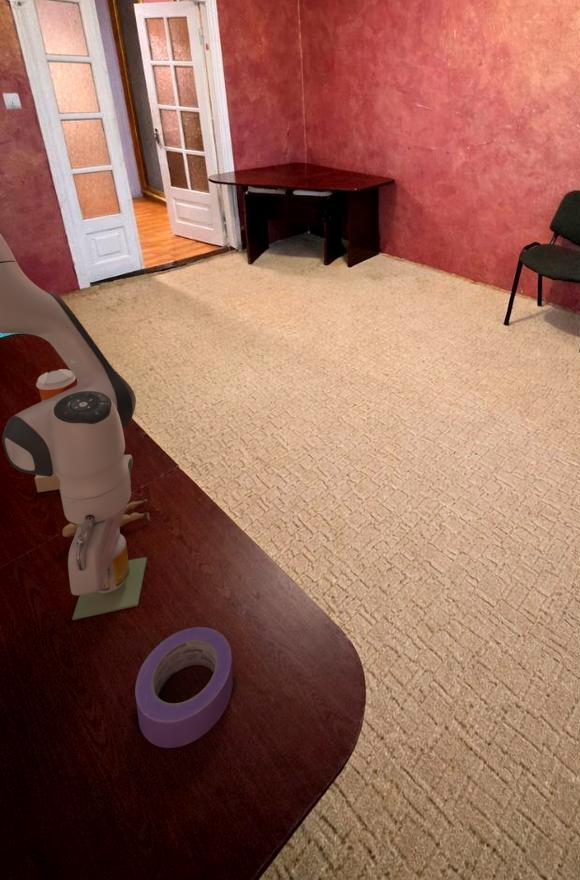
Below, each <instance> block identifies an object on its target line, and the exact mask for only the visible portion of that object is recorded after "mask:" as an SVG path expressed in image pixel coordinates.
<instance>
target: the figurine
mask: <svg viewBox="0 0 580 880" xmlns="http://www.w3.org/2000/svg"><path fill="white" fill-rule="evenodd" d="M147 503H148V499H146V498H144V499H142V500H138V501H131V502H128V503H127V505H126V508H125V511H124V515H123V518H122V521H121V525H120V528H122V527H124V526H126V525H127V524H129V523H130V522H134V521H137V520H139V519H142V520H146V519H147V521H148V522H150V521H151V517H150V513H149V511H148V512H143V513H139V512H132V513H130V514H127V512H128V511H129V510H134V509H135V508H136V507H137V506H140V505H142V506H144V505H147ZM78 526H79V524H75V523H72V522H69V523H68V524H67V525H65V526H64V527H63V528H62V532H61V533H62V537H64V538H71V537H74V536H75V534H76V531H77V529H78Z"/></svg>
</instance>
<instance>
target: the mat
mask: <svg viewBox="0 0 580 880" xmlns="http://www.w3.org/2000/svg"><path fill="white" fill-rule="evenodd" d="M147 560H148V557H147V556H144V557H139V558H133V559H128V562H129V571H130V572H129V576H128V578H127V580H126V581H125V582H124V583H123V584H122V585H121V586H120V587H119V588H117V589H116V590H114V591H111V592H108V593H99V592H94V593H90V594H85V595H78V599H77V603H76V606H75V609H74V612H73V614H72V621H77V620H80V619H85V618H89V617H94V616H98V615H103V614H106V613H107V614H108V613H111V612H112V613H113V612H116V611H120V610H125V609H129V608H133V607H138V606H139V604H140V603H139V602H140V599H141V598H140V597H141V593H142V592H141V591H142V586H143V583H144V576H145V571H146V567H147V562H148V561H147Z"/></svg>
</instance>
